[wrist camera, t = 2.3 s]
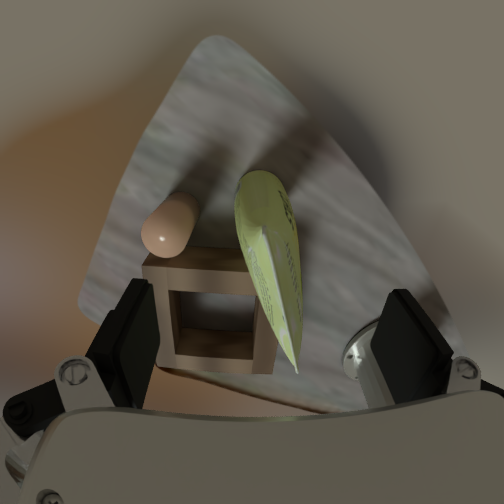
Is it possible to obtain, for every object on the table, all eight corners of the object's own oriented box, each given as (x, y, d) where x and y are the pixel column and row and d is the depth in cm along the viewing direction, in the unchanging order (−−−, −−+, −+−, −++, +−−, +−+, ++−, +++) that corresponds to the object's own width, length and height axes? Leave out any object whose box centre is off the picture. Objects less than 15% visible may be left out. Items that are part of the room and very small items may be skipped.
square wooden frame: (282, 251, 32) (288, 274, 27) (269, 346, 38) (272, 374, 33) (155, 244, 31) (141, 265, 27) (165, 339, 37) (157, 366, 32)
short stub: (200, 192, 29) (187, 213, 22) (199, 229, 30) (188, 259, 24) (162, 191, 29) (139, 211, 22) (163, 227, 30) (143, 256, 24)
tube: (298, 191, 29) (374, 305, 11) (269, 229, 31) (297, 377, 13) (252, 159, 27) (264, 231, 10) (224, 200, 29) (191, 328, 11)
